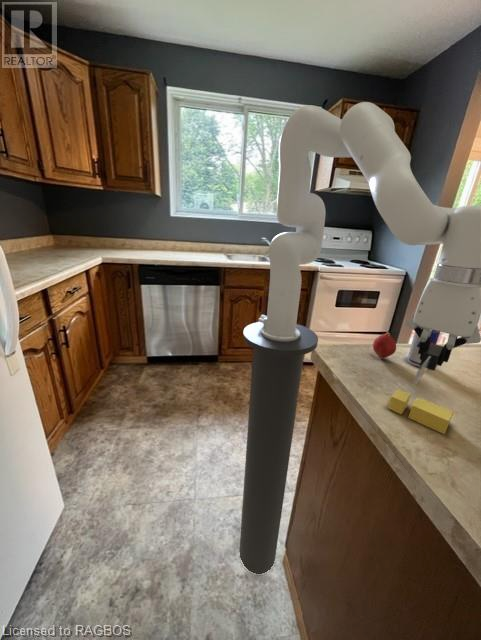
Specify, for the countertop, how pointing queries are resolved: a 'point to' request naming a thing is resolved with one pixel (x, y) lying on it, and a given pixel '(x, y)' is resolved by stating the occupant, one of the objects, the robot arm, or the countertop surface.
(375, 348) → the onion
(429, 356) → the knife
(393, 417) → the countertop surface
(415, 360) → the energy drink
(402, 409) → the butter slice
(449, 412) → the butter block
